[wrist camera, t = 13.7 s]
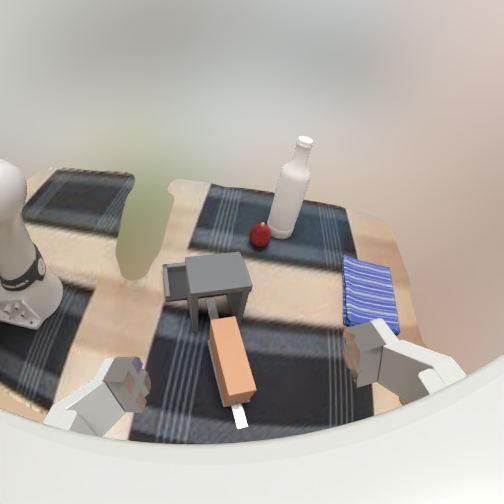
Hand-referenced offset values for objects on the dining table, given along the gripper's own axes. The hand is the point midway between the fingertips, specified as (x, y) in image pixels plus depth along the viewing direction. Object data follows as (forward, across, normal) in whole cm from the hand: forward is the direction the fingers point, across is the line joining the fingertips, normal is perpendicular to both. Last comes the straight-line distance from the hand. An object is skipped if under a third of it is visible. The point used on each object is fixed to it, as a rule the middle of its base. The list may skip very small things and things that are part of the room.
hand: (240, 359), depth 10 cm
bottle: (+71, +8, -16) cm, 73 cm away
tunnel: (+44, -11, -24) cm, 52 cm away
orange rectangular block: (+33, -9, -31) cm, 46 cm away
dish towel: (+54, +29, -33) cm, 69 cm away
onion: (+65, +1, -17) cm, 67 cm away
